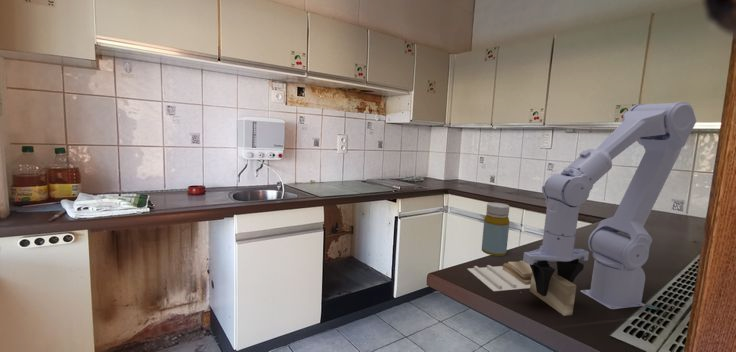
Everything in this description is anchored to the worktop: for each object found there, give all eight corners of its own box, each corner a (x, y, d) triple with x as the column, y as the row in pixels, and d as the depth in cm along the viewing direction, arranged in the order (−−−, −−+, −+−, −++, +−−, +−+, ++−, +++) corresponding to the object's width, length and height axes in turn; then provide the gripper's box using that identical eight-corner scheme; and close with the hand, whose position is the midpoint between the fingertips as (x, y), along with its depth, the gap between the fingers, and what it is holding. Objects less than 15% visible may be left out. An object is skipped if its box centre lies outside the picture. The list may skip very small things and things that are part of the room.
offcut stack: (519, 267, 89) (520, 258, 89) (544, 283, 81) (545, 273, 80) (501, 268, 88) (502, 260, 88) (524, 284, 80) (525, 275, 79)
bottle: (499, 249, 104) (504, 202, 102) (510, 258, 97) (515, 208, 95) (477, 248, 104) (482, 201, 101) (486, 257, 97) (491, 207, 95)
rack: (522, 266, 91) (523, 260, 91) (556, 287, 80) (557, 280, 80) (466, 270, 88) (467, 264, 87) (493, 293, 76) (494, 286, 76)
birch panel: (537, 291, 77) (540, 264, 76) (572, 315, 67) (576, 285, 66) (529, 291, 77) (532, 265, 76) (563, 316, 67) (568, 286, 66)
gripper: (572, 225, 75) (565, 281, 77) (516, 227, 72) (510, 286, 74) (601, 235, 68) (591, 297, 70) (540, 238, 65) (532, 303, 67)
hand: (551, 292), depth 71 cm, fingers open, 5 cm apart
